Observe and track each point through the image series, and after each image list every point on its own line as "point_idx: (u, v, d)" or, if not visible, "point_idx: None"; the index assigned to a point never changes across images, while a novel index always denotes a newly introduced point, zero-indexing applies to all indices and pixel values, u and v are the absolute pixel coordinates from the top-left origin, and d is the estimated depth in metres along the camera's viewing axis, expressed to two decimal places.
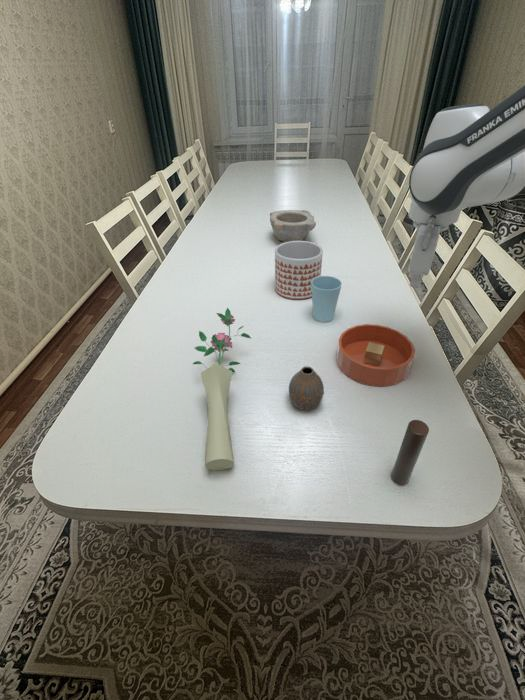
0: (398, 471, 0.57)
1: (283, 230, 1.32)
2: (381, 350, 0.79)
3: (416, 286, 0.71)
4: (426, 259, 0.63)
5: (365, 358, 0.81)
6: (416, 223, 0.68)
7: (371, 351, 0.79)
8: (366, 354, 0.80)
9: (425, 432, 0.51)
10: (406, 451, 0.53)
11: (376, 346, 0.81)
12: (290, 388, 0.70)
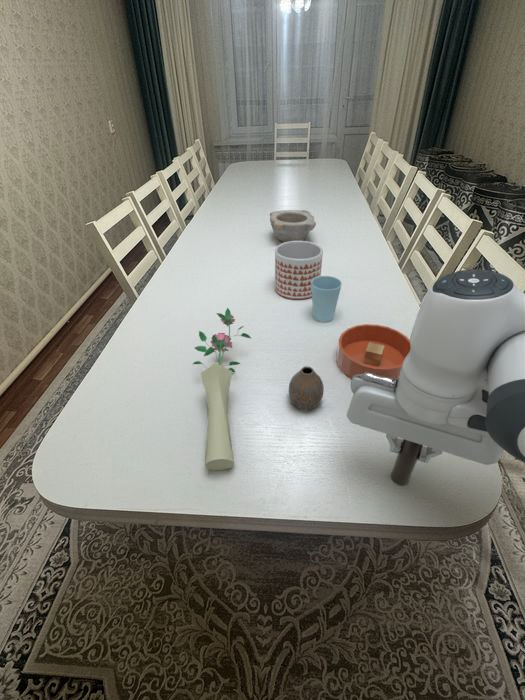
0: (398, 471, 0.57)
1: (283, 230, 1.32)
2: (381, 350, 0.79)
3: None
4: None
5: (365, 358, 0.81)
6: None
7: (371, 351, 0.79)
8: (366, 354, 0.80)
9: None
10: (406, 451, 0.53)
11: (376, 346, 0.81)
12: (290, 388, 0.70)
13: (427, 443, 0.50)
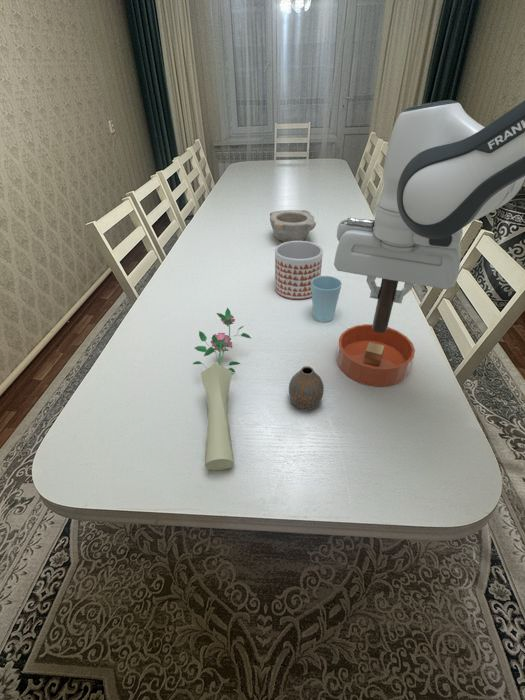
0: (377, 317, 0.67)
1: (283, 230, 1.32)
2: (381, 350, 0.79)
3: (370, 295, 0.66)
4: None
5: (365, 358, 0.81)
6: None
7: (371, 351, 0.79)
8: (366, 354, 0.80)
9: None
10: (383, 292, 0.64)
11: (376, 346, 0.81)
12: (290, 388, 0.70)
13: (399, 276, 0.60)
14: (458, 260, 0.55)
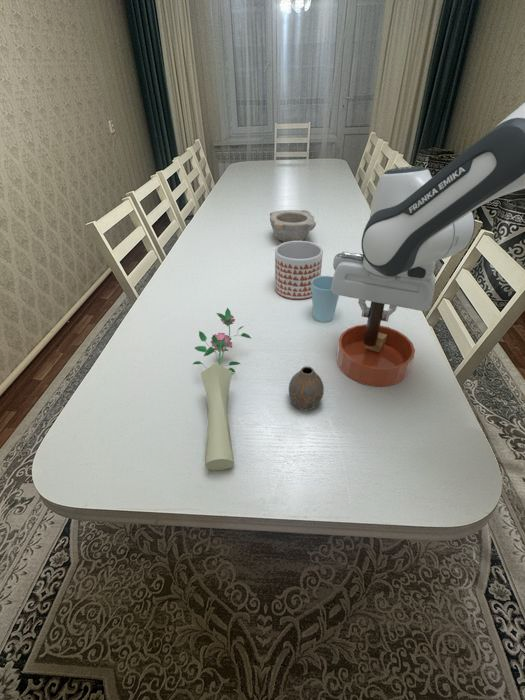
0: (368, 333, 0.79)
1: (283, 230, 1.32)
2: (383, 336, 0.82)
3: None
4: None
5: None
6: None
7: None
8: None
9: None
10: (372, 312, 0.76)
11: (379, 333, 0.84)
12: (290, 388, 0.70)
13: (385, 300, 0.73)
14: (432, 288, 0.67)
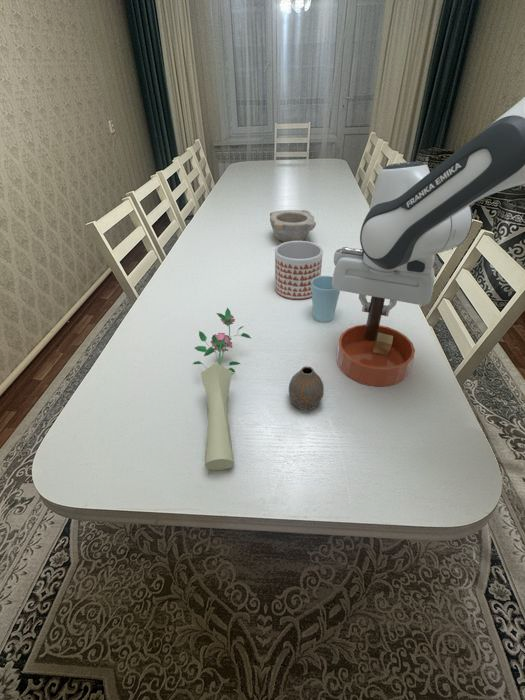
0: (368, 328, 0.80)
1: (283, 230, 1.32)
2: (391, 340, 0.82)
3: (362, 309, 0.79)
4: None
5: (375, 348, 0.83)
6: None
7: (382, 341, 0.82)
8: (376, 344, 0.82)
9: None
10: (373, 307, 0.77)
11: (386, 336, 0.83)
12: (290, 388, 0.70)
13: (385, 295, 0.74)
14: (431, 282, 0.68)
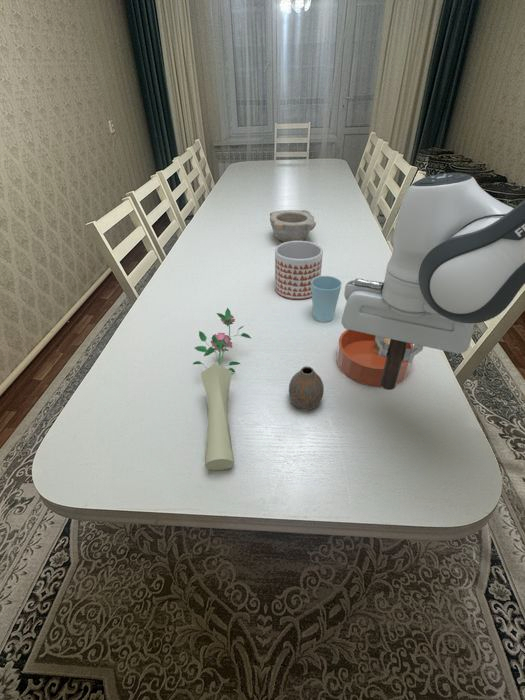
0: (386, 374, 0.65)
1: (283, 230, 1.32)
2: (389, 340, 0.82)
3: None
4: None
5: (374, 348, 0.83)
6: None
7: None
8: (375, 344, 0.82)
9: None
10: (392, 351, 0.62)
11: None
12: (290, 388, 0.70)
13: (409, 338, 0.59)
14: (471, 328, 0.53)
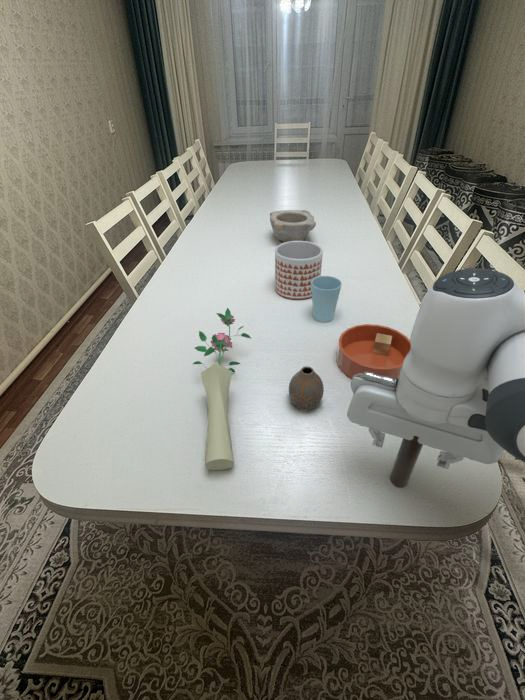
0: (397, 473, 0.56)
1: (283, 230, 1.32)
2: (389, 340, 0.82)
3: None
4: None
5: (374, 348, 0.83)
6: None
7: (380, 341, 0.82)
8: (375, 344, 0.82)
9: None
10: (405, 453, 0.53)
11: (384, 336, 0.83)
12: (290, 388, 0.70)
13: (427, 442, 0.50)
14: None
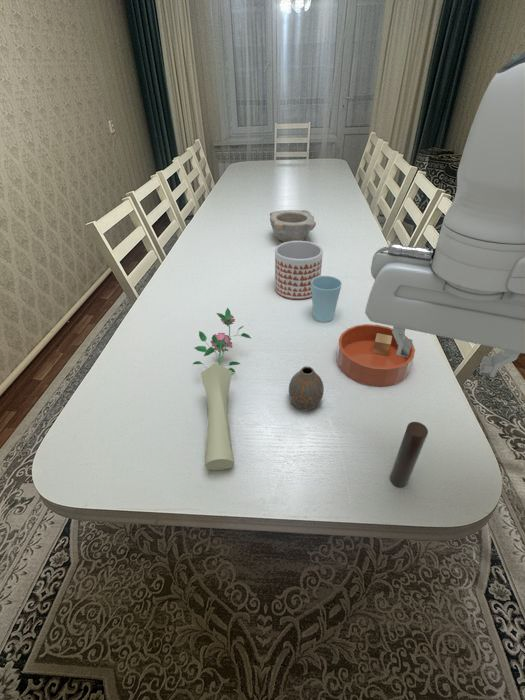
0: (397, 473, 0.56)
1: (283, 230, 1.32)
2: (389, 340, 0.82)
3: None
4: None
5: (374, 348, 0.83)
6: None
7: (380, 341, 0.82)
8: (375, 344, 0.82)
9: (424, 434, 0.50)
10: (405, 453, 0.53)
11: (384, 336, 0.83)
12: (290, 388, 0.70)
13: (471, 336, 0.38)
14: None
